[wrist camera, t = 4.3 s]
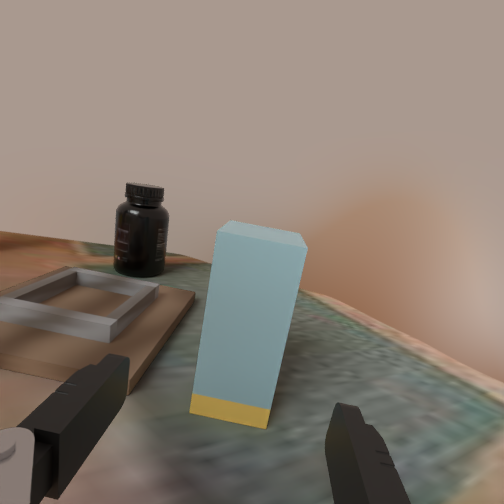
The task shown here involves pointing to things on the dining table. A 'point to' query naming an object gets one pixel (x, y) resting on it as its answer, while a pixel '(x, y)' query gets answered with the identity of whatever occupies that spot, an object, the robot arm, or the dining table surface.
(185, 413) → the dining table surface
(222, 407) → the peg
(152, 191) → the supplement bottle
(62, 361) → the socket board
